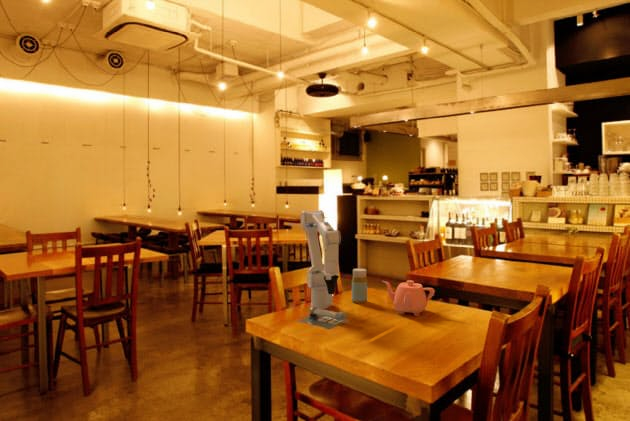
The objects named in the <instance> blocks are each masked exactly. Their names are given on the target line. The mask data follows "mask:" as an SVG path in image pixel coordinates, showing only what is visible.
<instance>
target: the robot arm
mask: <svg viewBox="0 0 630 421" xmlns="http://www.w3.org/2000/svg"><path fill="white" fill-rule="evenodd" d="M300 224H301V226H300V227H301V229H302V231H303V232H305V234H306V235H305V236H306V239H307V245H308V252H309V256H310V257H309V258H310V262H311V267H310V268H309V269H308V270H307V273H306V282H307V283H306V284H307V286H308V288H310V290H311V292H310V293H311V294H310V296H311V298H310V299H311V301H310V302H311V303H310V305H311V306H310V307H316V308H317V309H318V308H319V309H323V310H326V309H327V308H328V307H331V306H333V295H335V291H336V287H337V286H336V285H337V283H338V280H339V277H340V275H339V273H340V271H339V245H340V244H341V241H342V235H341V232H340V230H338V229H334V228H333V227H332V225H331V224H330V223H329V222H328V221H325V213H324V211H323V210H322V209H320V210H302V211H301V213H300ZM318 233H319V235H320V236H321V241H322V242H321V243H322V248H323V252H324V253H323V255H324V256H323V259H322V252H321V247H320V243H319V242H320V241H319V236H318ZM323 260H324V261H323Z"/></svg>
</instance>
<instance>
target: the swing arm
mask: <svg viewBox="0 0 630 421" xmlns="http://www.w3.org/2000/svg"><path fill="white" fill-rule="evenodd" d="M308 312H309V313H308V314H309V316H317V314H319V315H323V316H328V317H332V318H336V320H339V321H342V320H344V319H346V312H344V311H339V312H337V311H332V310H327V309H319V308H318V309H317V308H316V307H311V306H310V307H309V311H308Z"/></svg>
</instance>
